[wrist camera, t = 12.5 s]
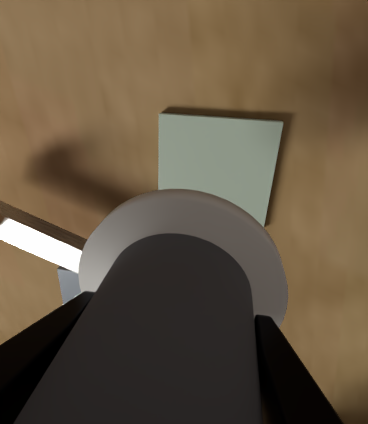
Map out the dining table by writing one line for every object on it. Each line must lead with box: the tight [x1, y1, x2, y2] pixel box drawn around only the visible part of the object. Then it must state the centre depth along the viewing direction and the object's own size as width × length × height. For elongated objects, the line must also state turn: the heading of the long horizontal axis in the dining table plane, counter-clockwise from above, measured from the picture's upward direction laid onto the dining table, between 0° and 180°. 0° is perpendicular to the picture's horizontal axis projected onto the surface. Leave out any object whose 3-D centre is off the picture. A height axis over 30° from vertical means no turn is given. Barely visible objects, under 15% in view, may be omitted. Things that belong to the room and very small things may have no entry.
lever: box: [0, 201, 87, 273], centre depth 19 cm, size 3×15×6 cm, turn 67°
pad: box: [158, 113, 283, 227], centre depth 18 cm, size 7×7×1 cm
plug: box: [13, 189, 288, 424], centre depth 7 cm, size 6×6×9 cm
